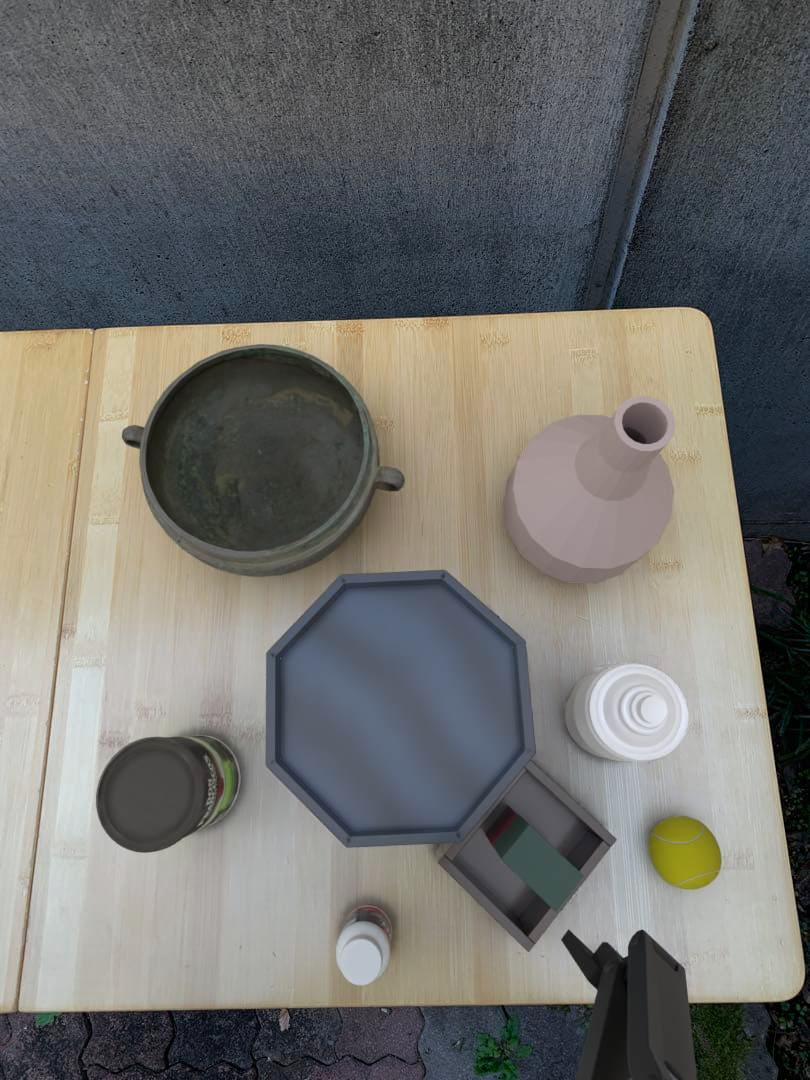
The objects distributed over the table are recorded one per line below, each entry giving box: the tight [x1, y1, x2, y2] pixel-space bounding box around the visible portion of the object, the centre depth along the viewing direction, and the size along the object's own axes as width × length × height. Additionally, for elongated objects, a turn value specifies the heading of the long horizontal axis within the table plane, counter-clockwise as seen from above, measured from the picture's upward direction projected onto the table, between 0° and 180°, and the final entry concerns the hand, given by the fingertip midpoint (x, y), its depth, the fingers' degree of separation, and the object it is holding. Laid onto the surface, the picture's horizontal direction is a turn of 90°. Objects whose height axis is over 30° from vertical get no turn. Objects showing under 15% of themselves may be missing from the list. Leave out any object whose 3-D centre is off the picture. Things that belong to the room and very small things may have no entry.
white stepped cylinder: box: [564, 661, 689, 763], centre depth 67 cm, size 12×11×25 cm
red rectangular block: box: [485, 806, 518, 846], centre depth 71 cm, size 4×6×7 cm, turn 48°
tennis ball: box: [648, 815, 723, 891], centre depth 72 cm, size 7×7×7 cm
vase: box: [502, 395, 676, 584], centre depth 70 cm, size 18×18×30 cm
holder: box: [435, 759, 618, 953], centre depth 72 cm, size 14×12×7 cm
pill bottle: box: [335, 904, 393, 987], centre depth 69 cm, size 5×5×10 cm
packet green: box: [493, 814, 584, 912], centre depth 65 cm, size 4×6×7 cm, turn 48°
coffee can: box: [95, 734, 242, 854], centre depth 71 cm, size 10×10×14 cm
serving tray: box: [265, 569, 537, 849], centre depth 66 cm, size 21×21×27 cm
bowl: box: [121, 343, 406, 578], centre depth 79 cm, size 32×26×15 cm
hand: (507, 1049), depth 39 cm, fingers open, 13 cm apart
